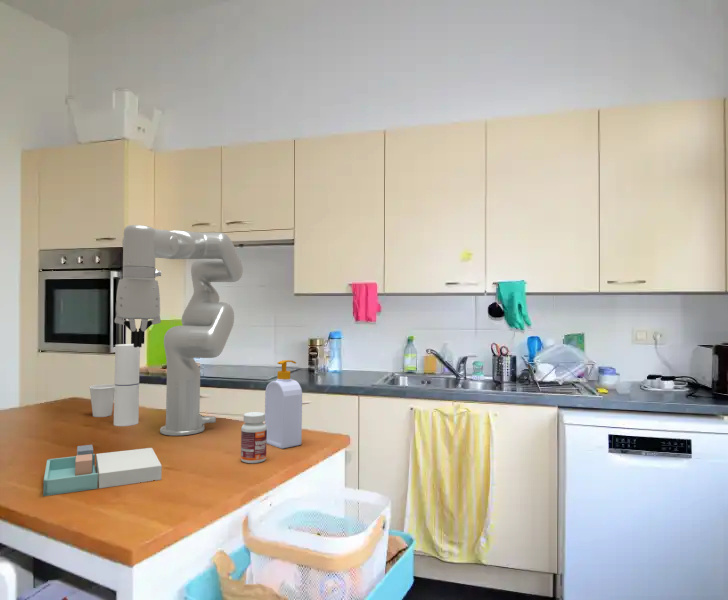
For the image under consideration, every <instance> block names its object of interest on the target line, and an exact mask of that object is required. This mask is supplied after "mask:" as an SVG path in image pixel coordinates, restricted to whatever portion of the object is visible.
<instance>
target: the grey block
mask: <svg viewBox="0 0 728 600" xmlns="http://www.w3.org/2000/svg"><path fill="white" fill-rule="evenodd" d="M86 454H92V473H93V454H94V446H93V444H85V445H77V447H76V455H86Z"/></svg>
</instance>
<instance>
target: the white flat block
mask: <svg viewBox="0 0 728 600" xmlns="http://www.w3.org/2000/svg"><path fill="white" fill-rule="evenodd" d="M162 468H163V466H162V464H161V462H160V459H158V456H157V454H156V453H155V451H154V448H153V447H146V448H136V449H128V450H120V451H111V452H102V453H96V454H95V471H96V473H98V483H97V486H98V489H104V488H111V487H119V486H125V485H130V484H131V485H132V484H139V483H140V482H141V483H146V482H147V481H148V482H152V481H153V480H155V481H161V480H162V474H163V473H162Z"/></svg>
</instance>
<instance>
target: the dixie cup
mask: <svg viewBox="0 0 728 600" xmlns="http://www.w3.org/2000/svg"><path fill="white" fill-rule="evenodd" d="M114 387H115V383H114V384H112V383H103V384H94V385H93V384H92V385H90V386H88V388H89V392H90V402H91V403H90V404H91V409H92V410H91V411H92V417H95V418H105V417H111V416H112V415H113V409H114Z"/></svg>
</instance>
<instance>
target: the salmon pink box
mask: <svg viewBox="0 0 728 600" xmlns="http://www.w3.org/2000/svg"><path fill="white" fill-rule="evenodd" d="M75 456H76V461H75V476H79V475H86V474H92V454H86V455H77V454H76V455H75Z"/></svg>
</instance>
